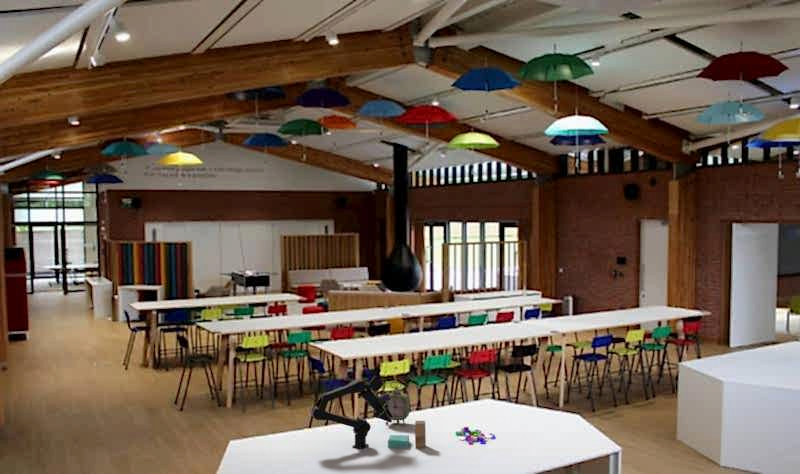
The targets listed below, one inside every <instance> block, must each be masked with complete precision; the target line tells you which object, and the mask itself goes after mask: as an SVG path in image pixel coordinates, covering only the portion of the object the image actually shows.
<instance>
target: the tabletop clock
mask: <svg viewBox="0 0 800 474" xmlns="http://www.w3.org/2000/svg"><path fill="white" fill-rule="evenodd" d="M394 383H396V384H400V387H398V386H395V387H394V386H392V384H394ZM390 387H391V388H392V389H393V390H392V391H391V392H389V394H390V397H391V399H390V400H387V403H388V409H389V411H390V412H391V414H392V416H393V417H392V418H391V417H390V419H391V420H392V421H396V423H397V424H399V423H400V421H402V422H403V424H402V425H403V426H404V427H405V426H407V423H405V420H406V419H407V418H408V417H409V415H410V410H411V402H410V401H411V400H410V397H409V395H408V394H407V393H404V392H401V390H400V389H401V388H402V387H403V385H402V382H400V381H392V382H391V383H390ZM385 404H386V403H385ZM388 424H389V422H388V421H385V425H386V426H387V425H388Z"/></svg>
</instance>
